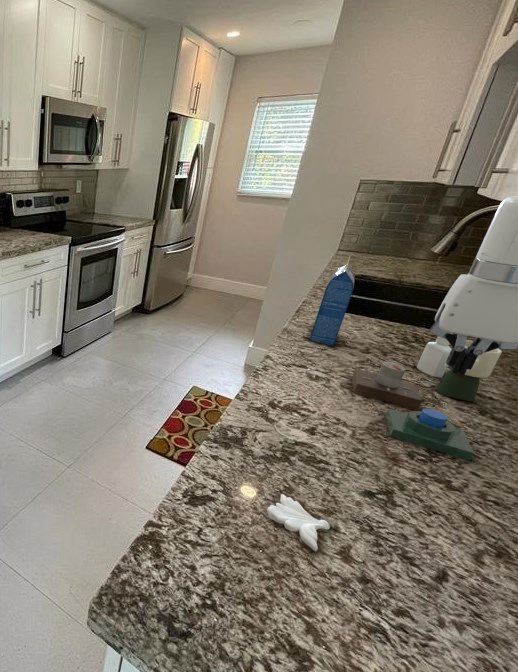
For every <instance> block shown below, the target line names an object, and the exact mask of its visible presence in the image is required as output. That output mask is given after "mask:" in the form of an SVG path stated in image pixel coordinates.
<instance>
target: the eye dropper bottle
mask: <svg viewBox="0 0 518 672" xmlns="http://www.w3.org/2000/svg"><path fill="white" fill-rule="evenodd" d="M449 345H451V344H450V343H449V342H448V340H447V339H445V338H442V337H439V336H436V339H435V341H429V342H427V343H426V344H425V347H424V349H423V352H422V354H421V356H420V358H419V360H418V362H417V365H416V368H417V370H419V371H420V372H422V373H424V374H426V375H428V376H430V377H434V378H443V377H444V375H445V373H446V370H447V369H448V367H447V366H446V365H445V363H446V360H447V358H448V356H449V354H450V352H451V350H452V348H451V346H449Z"/></svg>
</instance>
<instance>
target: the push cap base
mask: <svg viewBox="0 0 518 672" xmlns="http://www.w3.org/2000/svg"><path fill="white" fill-rule="evenodd" d="M420 413H421V411H419V410H413V411H409V412H408V413H406V412H403V411H399V410H396V409H393V408H387V410H386V411H385V415H384V416H385V420H386V425H387V429H388V434H389V437H390V438H393V439H397V440H400V441H404V442H407V443H411V444H414V445H416V446H421V447H424V448H426V449H430V450H433V451H437V452H440V453H443V454H446V455H450V456H452V457H456V458H460V459H463V460H466V461H471V460H472V459H473V457H474V455H475V451H474V449H473V448H472V446H471V444H470V442H469V440H468V438H467V436H466V434H465V432H464V430H463V429H462V428H460V427H457V426H455V425H454V424H453V423H452V422H450V421H448V420H447V422H446V424H445V426H444V428H438V427H434V426H431V425H428V424H426V423H424V422H422V421H420V420H419V419H418V418H419V416H420Z"/></svg>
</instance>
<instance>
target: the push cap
mask: <svg viewBox="0 0 518 672" xmlns="http://www.w3.org/2000/svg"><path fill="white" fill-rule="evenodd" d="M420 412H421V413H420V416H419V418H418V419H419V420H420V421H422V422H424V423H426V424H428V425H431V426H434V427H438V428H444V426H445V424H446V422H447V421H448V420H449V416H447V414H445V413H443V412H441V411H438V410H436V409H432V408H422V410H421V411H420Z"/></svg>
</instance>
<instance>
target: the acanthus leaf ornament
mask: <svg viewBox="0 0 518 672" xmlns="http://www.w3.org/2000/svg"><path fill="white" fill-rule="evenodd" d="M266 511H267V513H266V514H267V517H268V518H269V519H271V520H272V521H274V522H276V523H278V524H281V525H283V526H284V528H285V529H286V530H288V531H290V532H299V537H300V539H301V540H302V542H303V543H305V544H306V545H307V546H308V547H309V548H310V549H311V550H312V551H314V552H317V551H318V549H319V548H318V544H317V543H318V539H319V538H318V532H317V530H319V529H323V530H329V529H330V528H331V527H330V523H329V522H328V521H327V520H324V519H317V518H315V517H313V516H312V515H311V514H310V513H308V512H307V511H306V510H305V509H304V507H303V506H302V505H301V504H300V502H298V501H297V500H294V499H293V498H292V497H290V496H286V495H285V494H284V493H282V494H280V499H279V502H276V503H275V505H274V504H270V505H269V506H268V507H267V509H266Z"/></svg>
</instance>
